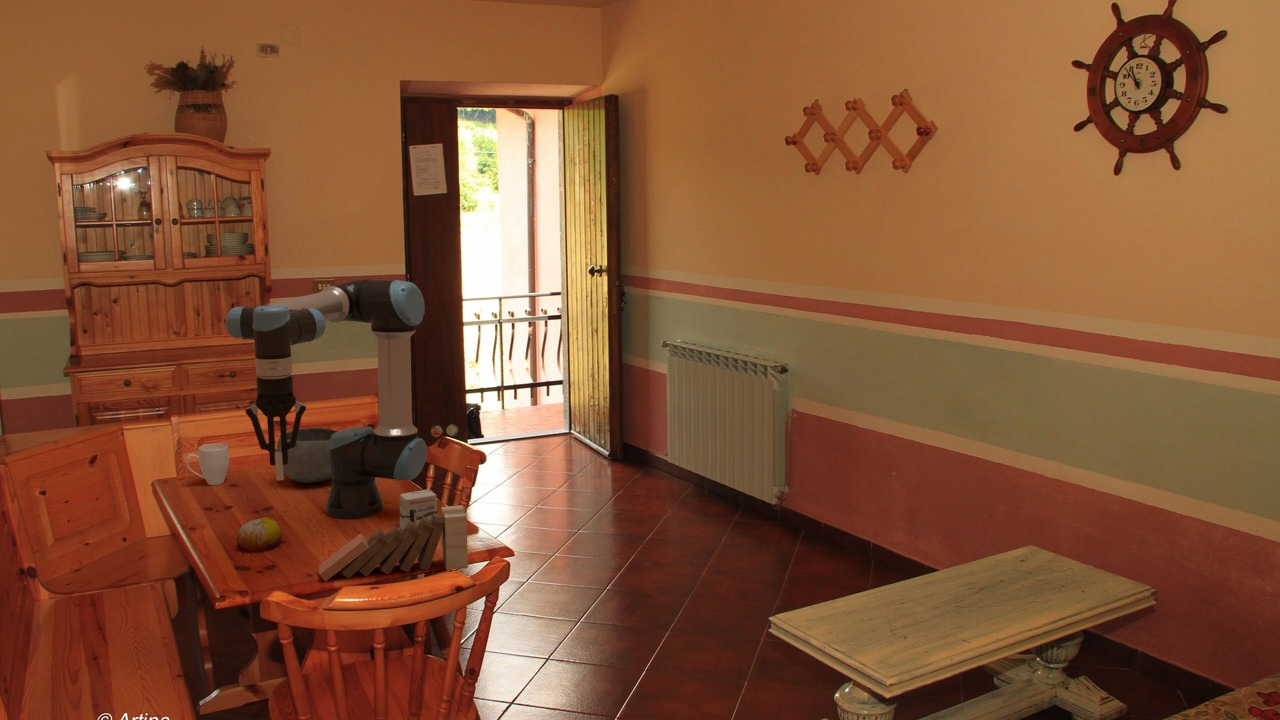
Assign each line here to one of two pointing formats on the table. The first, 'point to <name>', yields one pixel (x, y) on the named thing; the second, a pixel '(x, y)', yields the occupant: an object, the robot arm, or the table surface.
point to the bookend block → (454, 537)
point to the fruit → (259, 535)
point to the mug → (212, 462)
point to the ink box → (417, 506)
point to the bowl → (309, 455)
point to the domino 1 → (343, 557)
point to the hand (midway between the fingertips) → (280, 478)
